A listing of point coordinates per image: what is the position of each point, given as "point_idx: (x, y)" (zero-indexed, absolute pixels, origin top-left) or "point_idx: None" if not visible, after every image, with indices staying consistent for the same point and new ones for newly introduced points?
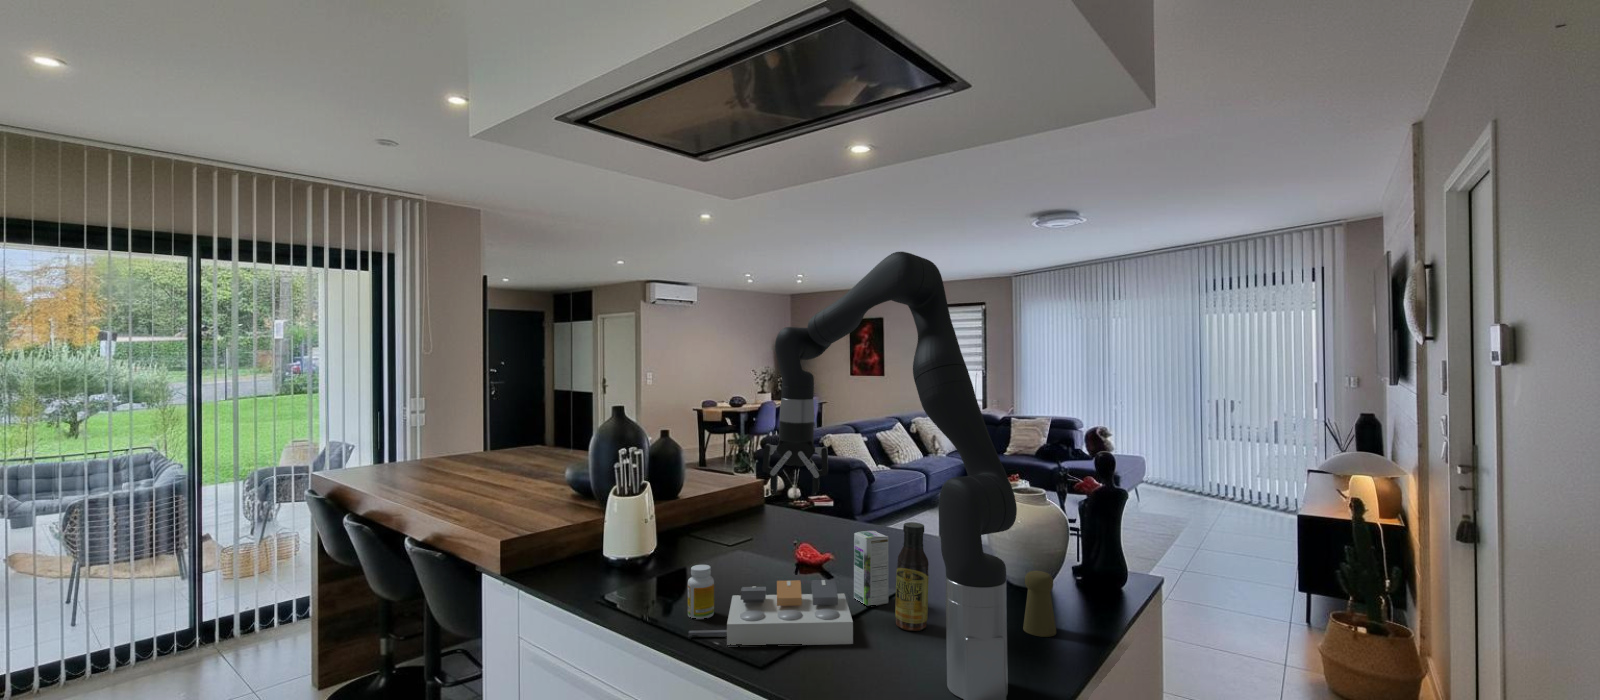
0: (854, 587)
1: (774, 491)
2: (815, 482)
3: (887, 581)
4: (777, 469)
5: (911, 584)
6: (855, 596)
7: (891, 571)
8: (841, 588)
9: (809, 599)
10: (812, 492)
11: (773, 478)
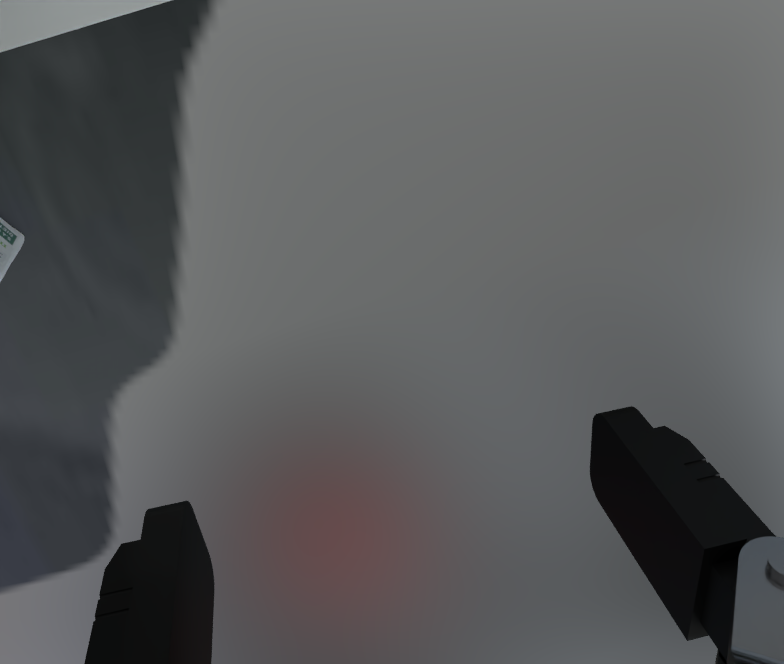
0: (4, 252)
1: (619, 410)
2: (126, 634)
3: None
4: (760, 638)
5: None
6: (4, 228)
7: (7, 562)
8: (135, 342)
9: None
10: (178, 516)
11: (723, 514)
